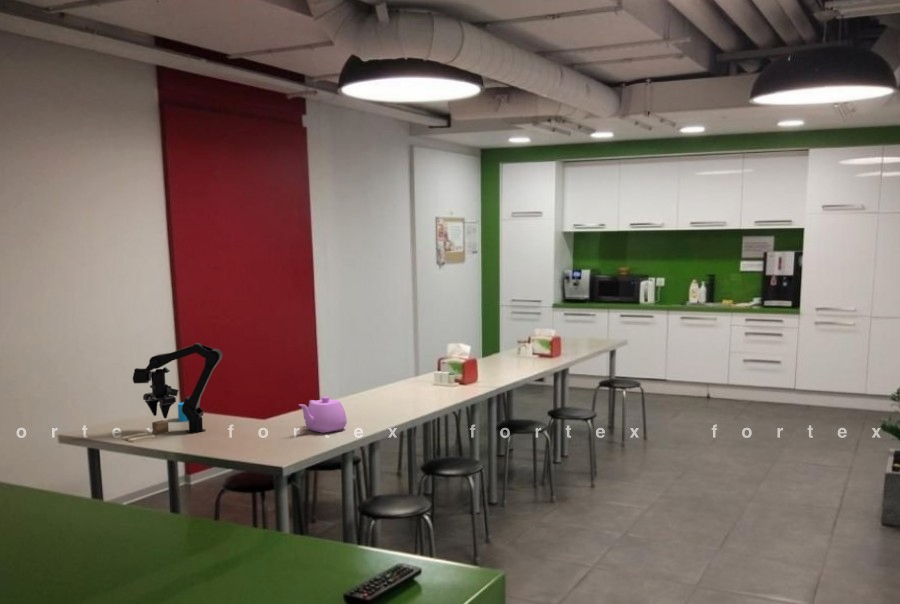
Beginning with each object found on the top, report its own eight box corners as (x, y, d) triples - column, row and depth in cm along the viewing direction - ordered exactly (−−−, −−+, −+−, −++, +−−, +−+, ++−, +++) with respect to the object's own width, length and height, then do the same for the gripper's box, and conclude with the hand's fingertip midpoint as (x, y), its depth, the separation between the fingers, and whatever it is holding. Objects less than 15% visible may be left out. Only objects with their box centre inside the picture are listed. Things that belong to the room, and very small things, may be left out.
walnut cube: (168, 432, 324) (168, 421, 324) (158, 434, 320) (157, 423, 320) (163, 431, 327) (162, 420, 327) (152, 433, 323) (152, 422, 323)
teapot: (325, 422, 339) (324, 390, 338) (352, 429, 324) (351, 396, 323) (283, 431, 323) (282, 398, 322) (310, 439, 308) (309, 404, 307)
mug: (189, 422, 344) (189, 405, 344) (174, 421, 346) (174, 404, 345) (204, 416, 356) (203, 400, 355) (189, 416, 358) (188, 399, 357)
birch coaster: (155, 437, 315) (155, 435, 315) (133, 442, 307) (133, 440, 307) (144, 434, 321) (144, 432, 321) (122, 438, 313) (122, 437, 313)
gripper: (186, 382, 322) (187, 416, 323) (164, 378, 334) (166, 411, 335) (162, 385, 314) (164, 420, 315) (141, 381, 326) (143, 415, 327)
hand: (160, 416), depth 323 cm, fingers open, 9 cm apart
